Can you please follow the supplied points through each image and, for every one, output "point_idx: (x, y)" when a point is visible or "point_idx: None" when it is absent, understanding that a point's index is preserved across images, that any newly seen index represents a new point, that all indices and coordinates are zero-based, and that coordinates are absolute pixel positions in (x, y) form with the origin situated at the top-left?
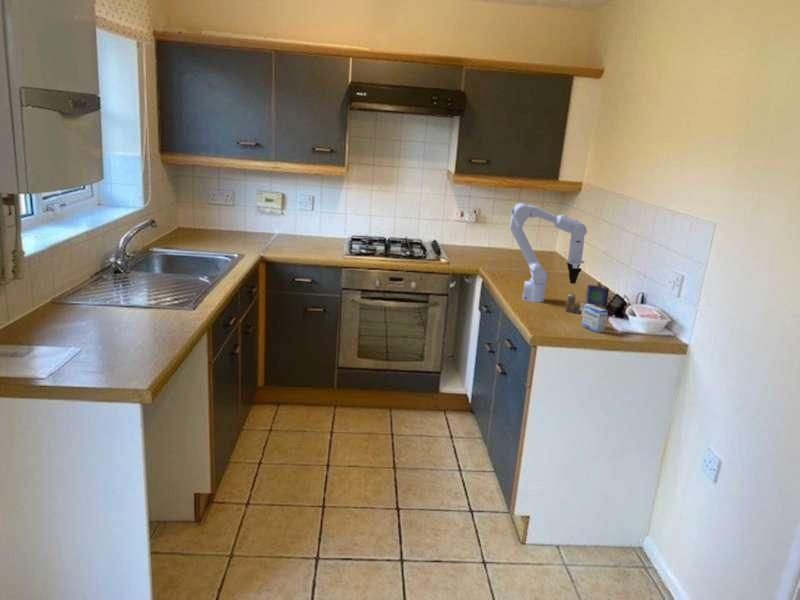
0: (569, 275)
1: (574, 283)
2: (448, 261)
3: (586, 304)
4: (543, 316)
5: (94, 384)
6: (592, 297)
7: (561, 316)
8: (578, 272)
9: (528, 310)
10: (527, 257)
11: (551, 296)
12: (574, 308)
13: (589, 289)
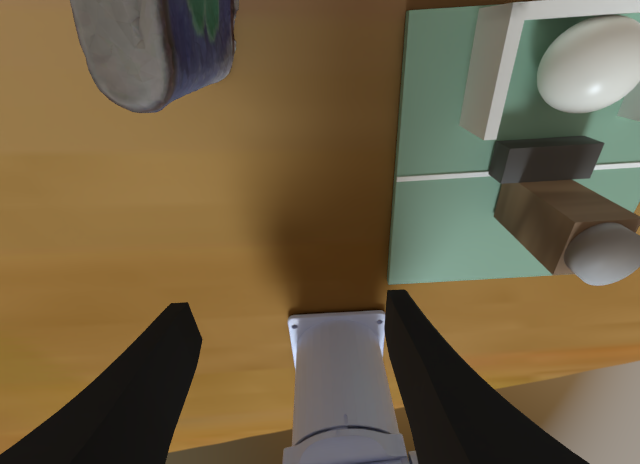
0: (187, 384)
1: (408, 297)
2: None
3: (507, 87)
4: (598, 299)
5: None
6: (211, 14)
7: None
8: (548, 447)
9: (503, 351)
10: None
11: (168, 289)
12: (554, 175)
13: (190, 72)
